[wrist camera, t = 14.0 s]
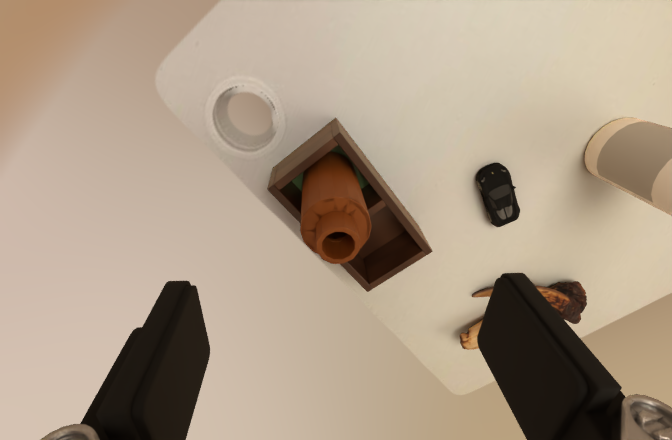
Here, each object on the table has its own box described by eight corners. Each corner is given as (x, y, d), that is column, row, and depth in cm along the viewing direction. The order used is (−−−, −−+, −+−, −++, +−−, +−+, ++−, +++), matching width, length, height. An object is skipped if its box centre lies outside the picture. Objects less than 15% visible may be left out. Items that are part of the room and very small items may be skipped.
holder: (360, 262, 44) (367, 292, 39) (272, 168, 37) (267, 189, 32) (418, 225, 42) (432, 251, 37) (336, 117, 35) (340, 132, 30)
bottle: (293, 185, 38) (286, 258, 26) (319, 141, 35) (324, 199, 24) (337, 208, 39) (350, 286, 27) (365, 167, 37) (391, 233, 25)
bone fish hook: (565, 247, 46) (439, 305, 49) (591, 267, 42) (452, 330, 44) (579, 294, 50) (462, 346, 53) (604, 317, 45) (475, 372, 48)
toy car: (471, 171, 39) (479, 178, 37) (501, 157, 38) (511, 163, 37) (489, 225, 43) (497, 234, 41) (516, 213, 42) (526, 221, 40)
